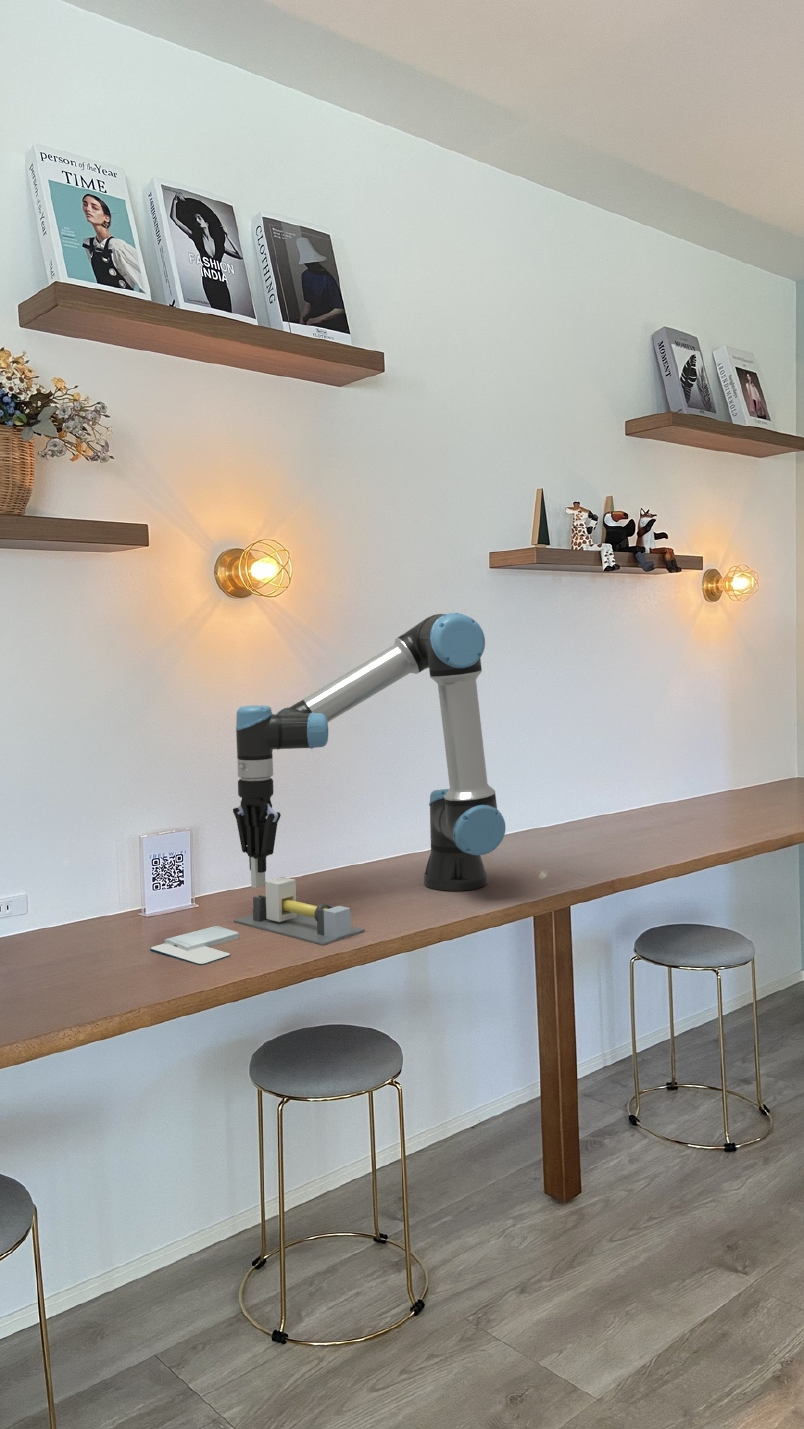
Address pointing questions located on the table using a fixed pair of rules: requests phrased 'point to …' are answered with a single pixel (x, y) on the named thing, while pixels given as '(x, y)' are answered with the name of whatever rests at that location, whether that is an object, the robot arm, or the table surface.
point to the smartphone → (191, 953)
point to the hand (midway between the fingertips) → (258, 886)
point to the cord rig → (304, 921)
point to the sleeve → (279, 898)
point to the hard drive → (203, 938)
